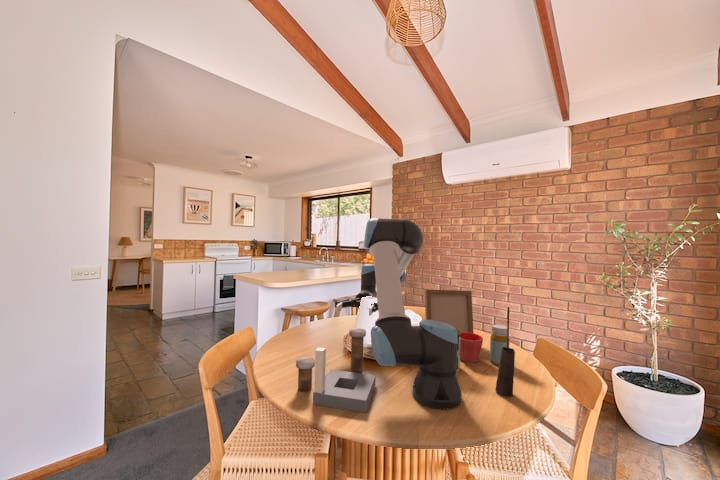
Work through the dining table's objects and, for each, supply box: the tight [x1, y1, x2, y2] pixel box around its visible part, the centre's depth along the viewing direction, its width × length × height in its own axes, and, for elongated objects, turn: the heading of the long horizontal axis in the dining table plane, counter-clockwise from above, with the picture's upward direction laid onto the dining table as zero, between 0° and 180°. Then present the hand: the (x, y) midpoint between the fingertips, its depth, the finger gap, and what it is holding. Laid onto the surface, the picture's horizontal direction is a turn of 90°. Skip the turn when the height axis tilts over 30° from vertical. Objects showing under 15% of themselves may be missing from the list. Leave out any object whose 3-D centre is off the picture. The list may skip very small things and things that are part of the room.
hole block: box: [312, 347, 377, 414], centre depth 94 cm, size 16×16×16 cm
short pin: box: [295, 356, 315, 393], centre depth 97 cm, size 6×6×9 cm
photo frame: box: [424, 289, 474, 333], centre depth 147 cm, size 15×22×25 cm
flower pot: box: [460, 332, 484, 364], centre depth 124 cm, size 11×11×10 cm
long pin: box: [348, 327, 367, 374], centre depth 107 cm, size 6×6×16 cm
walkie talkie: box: [495, 306, 516, 398], centre depth 96 cm, size 9×10×28 cm
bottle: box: [489, 323, 510, 367], centre depth 121 cm, size 7×7×15 cm
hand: (353, 310), depth 118 cm, fingers open, 13 cm apart
